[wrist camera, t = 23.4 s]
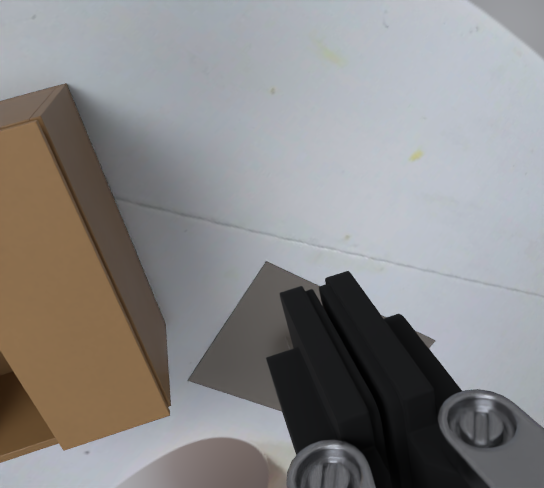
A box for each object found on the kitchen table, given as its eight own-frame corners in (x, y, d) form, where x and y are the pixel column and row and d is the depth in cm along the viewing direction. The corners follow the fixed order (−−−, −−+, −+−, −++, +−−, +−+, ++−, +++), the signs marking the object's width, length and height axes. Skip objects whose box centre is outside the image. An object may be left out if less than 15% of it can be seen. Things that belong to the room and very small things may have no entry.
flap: (-115, 160, 21) (-119, 163, 21) (37, 119, 22) (36, 121, 21) (64, 445, 30) (63, 451, 29) (169, 410, 30) (170, 415, 30)
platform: (357, 436, 48) (386, 496, 43) (187, 380, 41) (195, 444, 35) (435, 340, 45) (477, 392, 39) (266, 261, 38) (288, 310, 32)
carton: (-166, 145, 28) (-276, 202, 21) (66, 83, 29) (40, 115, 22) (-9, 380, 37) (-47, 478, 30) (165, 324, 38) (171, 406, 31)
